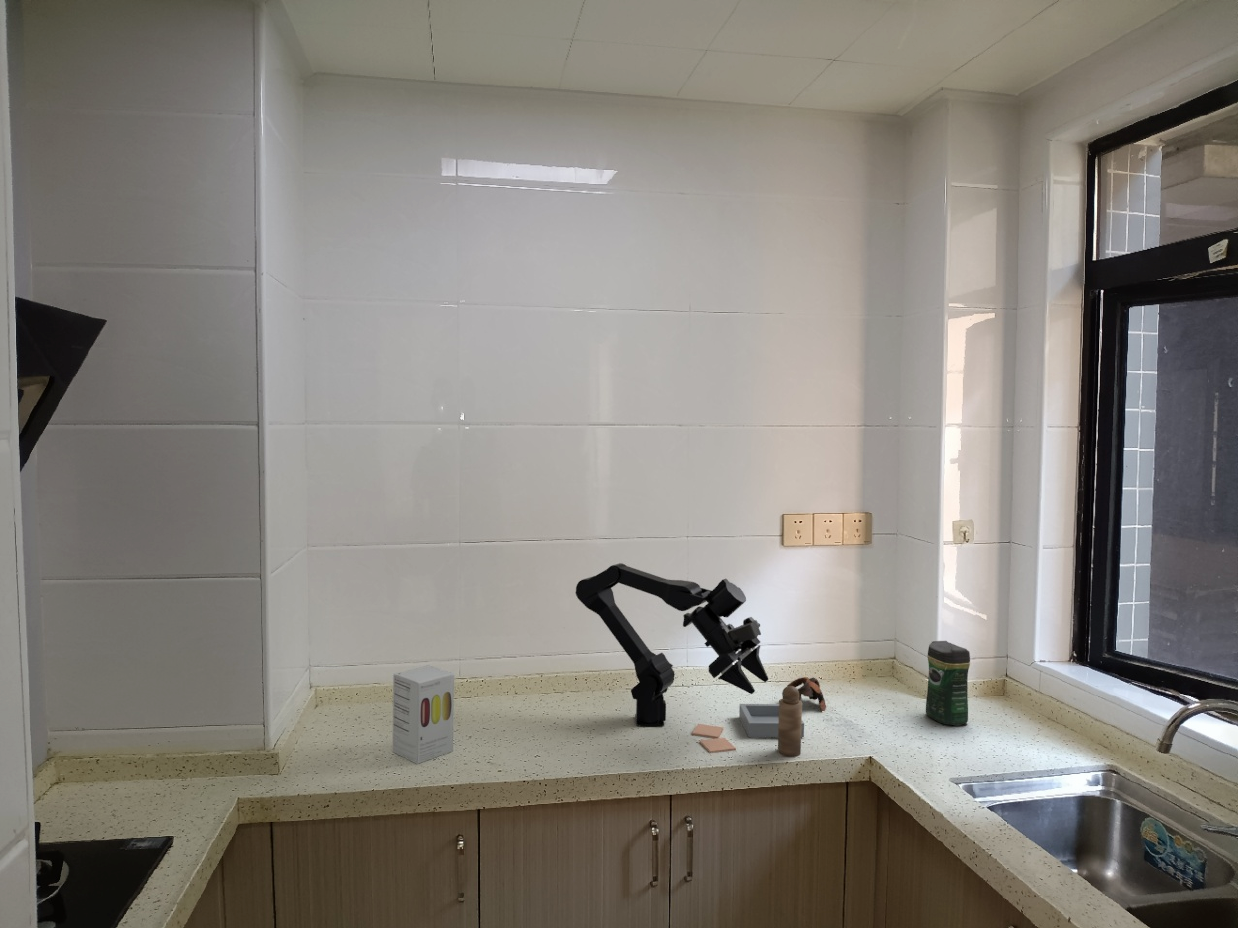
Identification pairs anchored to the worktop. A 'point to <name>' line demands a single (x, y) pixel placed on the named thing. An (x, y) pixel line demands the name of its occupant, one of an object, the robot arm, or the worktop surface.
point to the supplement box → (423, 713)
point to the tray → (761, 720)
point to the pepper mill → (790, 723)
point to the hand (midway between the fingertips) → (760, 686)
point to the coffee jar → (948, 683)
